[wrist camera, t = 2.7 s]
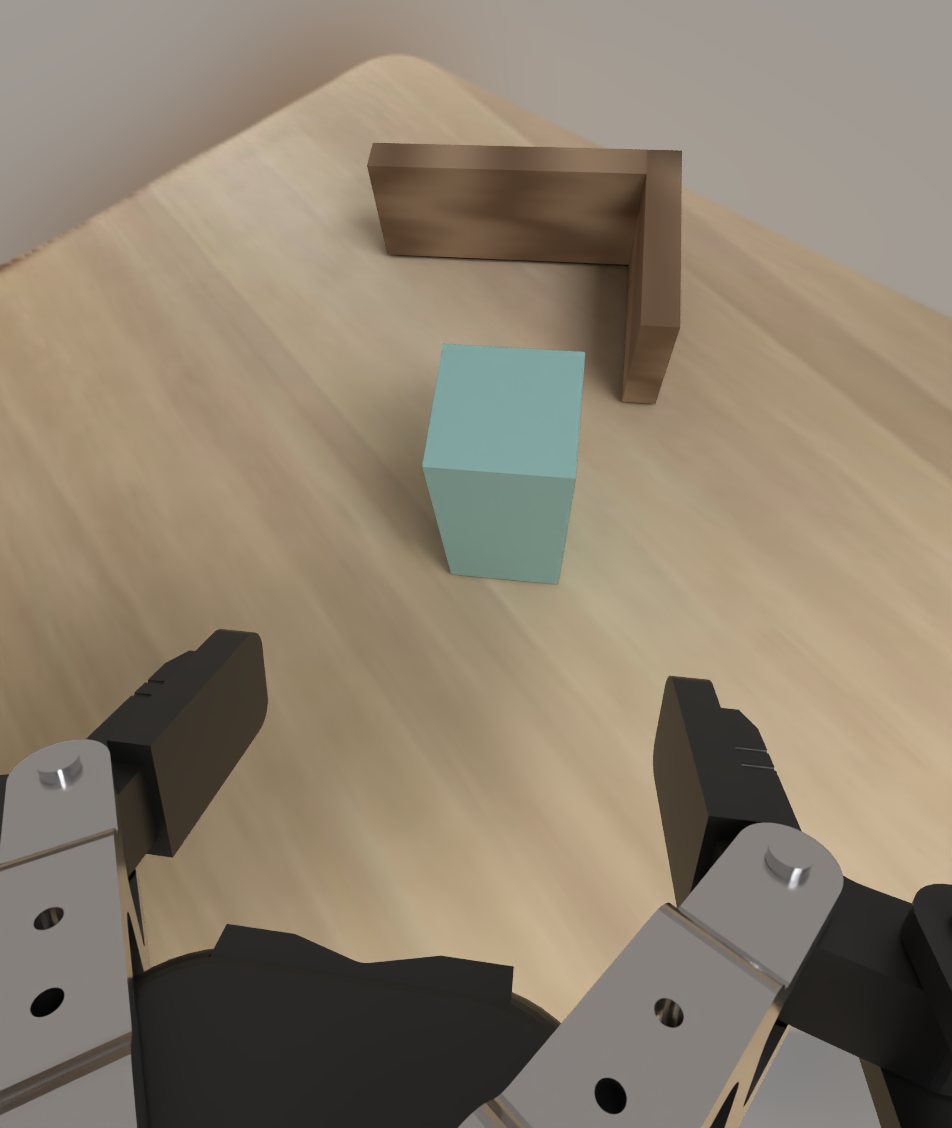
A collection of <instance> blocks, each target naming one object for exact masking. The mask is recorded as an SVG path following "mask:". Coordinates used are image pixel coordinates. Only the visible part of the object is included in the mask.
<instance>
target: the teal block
mask: <svg viewBox="0 0 952 1128" xmlns="http://www.w3.org/2000/svg"><path fill="white" fill-rule="evenodd" d="M584 362H585V352H578V351H560V350H543V349H526V348H508V347H491V346H474V345H456V344H443V348H442V353H441V359H440V365H439V371H438V377H437V383H436V388H435V394H434V400H433V406H432V412H431V418H430V423H429V429H428V435H427V441H426V447H425V453H424V458H423V464H422V469H423V472H424V476H425V480H426V483H427V487H428V491H429V494H430V498H431V502H432V505H433V509H434V513H435V517H436V520H437V524H438V528H439V531H440V535H441V539H442V542H443V546H444V550H445V553H446V557H447V561H448V565H449V568H450V572H451V574H453V575H464V576H474V577H485V578H496V579H507V580H517V581H528V582H539V583H550V584H558V582H559V576H560V570H561V564H562V558H563V552H564V546H565V540H566V534H567V528H568V522H569V516H570V510H571V504H572V498H573V492H574V486H575V480H576V468H577V455H578V442H579V428H580V415H581V402H582V388H583V375H584Z"/></svg>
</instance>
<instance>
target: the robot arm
mask: <svg viewBox="0 0 952 1128" xmlns="http://www.w3.org/2000/svg"><path fill="white" fill-rule="evenodd" d="M267 704H268V696H267V687H266V677H265V668H264V658H263V649H262V642H261V638H260V636H259V635H258V634H257V633H254V632H244V631H234V630H224V629H219V630H217V631H215V632H214V633H213V634H212V635H211V636H210V637H209V638H208V639H207V640H206V641H205V642H204V643H203V644H202V645H201V646H200V647H199V648H198V649H197V650H196V651H188V652H186V653H184V654H182V655H180V656H178V657H176V658H175V659H173V660H171V661H169V662H167V663H165V664H164V665H163V666H162V667H161V668H160V669H159V670H158V671H157V672H156V673H155V674H154V675H152V676H151V677H150V678H149V679H148V683H144V684H143V685H142V686H141V687H140V688H139V689H138V690H137V691H136V692H135V694H134V696H131V697H129V698H128V699H127V700H126V701H125V702H124V703H123V704H122V705H121V706H120V707H119V708H118V709H117V710H116V711H115V712H114V713H113V714H112V715H111V716H110V717H109V718H107V719H106V720H105V721H104V722H103V723H102V724H101V725H100V726H99V727H98V728H97V729H96V730H95V731H94V732H93V733H92V734H91V735H90V736H89V737H88V738H87V739H76V740H68V741H63V742H59V743H56V744H52V745H50V746H47V747H44V748H42V749H40V750H38V751H36V752H34V753H32V754H31V755H29V756H27V757H26V758H25V759H23V760H22V761H21V762H19V763H18V764H17V765H16V766H15V767H14V769H13V770H12V771H11V772H10V774H8V775H0V1128H738V1127H739V1125H740V1123H741V1121H742V1119H743V1117H744V1115H745V1113H746V1111H747V1109H748V1107H749V1105H750V1103H751V1101H752V1099H753V1098H754V1096H755V1094H756V1092H757V1090H758V1088H759V1086H760V1084H761V1082H762V1080H763V1078H764V1076H765V1074H766V1073H767V1071H768V1069H769V1067H770V1065H771V1063H772V1061H773V1059H774V1057H775V1056H776V1053H777V1052H778V1050H779V1048H780V1046H781V1044H782V1042H783V1040H784V1038H785V1036H786V1034H787V1033H788V1031H789V1029H790V1027H791V1026H793V1027H795V1028H797V1029H799V1030H801V1031H804V1032H806V1033H808V1034H810V1035H812V1036H814V1037H816V1038H819V1039H821V1040H823V1041H825V1042H827V1043H829V1044H831V1045H834V1046H836V1047H838V1048H840V1049H842V1050H844V1051H847V1052H849V1053H851V1054H853V1055H855V1056H857V1057H859V1059H860V1062H861V1065H862V1068H863V1072H864V1075H865V1078H866V1081H867V1084H868V1087H869V1090H870V1093H871V1097H872V1100H873V1103H874V1106H875V1109H876V1112H877V1115H878V1118H879V1122H880V1125H881V1128H952V885H948V884H932V885H928V886H925V887H923V888H921V889H920V890H919V891H918V892H917V893H916V895H915V897H914V900H913V902H912V904H911V903H909V902H906V901H903V900H901V899H898V898H895V897H892V896H890V895H887V894H884V893H882V892H879V891H876V890H873V889H871V888H868V887H866V886H863V885H861V884H858V883H856V882H854V881H852V880H850V879H848V878H846V877H845V876H843V874H842V871H841V868H840V866H839V864H838V863H837V861H836V859H835V858H834V857H833V855H832V854H831V853H830V852H829V851H828V850H827V849H826V848H825V847H824V846H823V845H822V844H820V843H819V842H818V841H816V840H815V839H814V838H812V837H810V836H809V835H807V834H805V833H803V832H802V831H801V829H800V826H799V824H798V822H797V819H796V817H795V815H794V812H793V810H792V808H791V805H790V803H789V801H788V798H787V796H786V794H785V791H784V789H783V786H782V784H781V782H780V779H779V777H778V775H777V772H776V771H774V765H773V763H772V761H771V758H770V756H769V754H768V753H767V749H766V746H765V744H764V742H763V739H762V737H761V735H760V732H759V730H758V728H757V727H756V726H755V725H754V724H753V723H752V722H751V721H750V720H749V719H747V718H746V717H745V716H744V715H743V714H742V713H741V712H740V711H739V710H735V709H726V708H721V707H720V704H719V701H718V698H717V696H716V693H715V690H714V687H713V684H712V682H711V681H710V680H706V679H696V678H686V677H676V676H669V677H668V678H667V681H666V684H665V689H664V695H663V700H662V705H661V711H660V716H659V721H658V727H657V732H656V738H655V744H654V754H653V771H654V779H655V785H656V790H657V796H658V802H659V807H660V813H661V819H662V825H663V830H664V836H665V842H666V847H667V853H668V859H669V864H670V870H671V876H672V882H673V887H674V893H675V899H676V904H677V908H676V907H674V906H673V905H672V904H670V903H666V904H664V905H662V906H661V907H660V908H659V909H658V910H657V911H656V912H655V913H654V914H653V915H652V917H651V918H650V919H649V920H648V921H647V922H646V924H645V925H644V926H643V927H642V928H641V930H640V931H639V932H638V933H637V934H636V936H635V937H634V938H633V939H632V940H631V941H630V943H629V944H628V945H627V946H626V947H625V949H624V950H623V951H622V952H621V953H620V955H619V956H618V957H617V958H616V959H615V960H614V962H613V963H612V964H611V965H610V966H609V968H608V969H607V970H606V971H605V972H604V973H603V975H602V976H601V977H600V978H599V979H598V981H597V982H596V983H595V984H594V985H593V987H592V988H591V989H590V990H589V991H588V992H587V994H586V995H585V996H584V997H583V998H582V1000H581V1001H580V1002H579V1003H578V1004H577V1005H576V1007H575V1008H574V1009H573V1010H572V1011H571V1013H570V1014H569V1015H568V1016H567V1017H566V1019H565V1020H564V1021H563V1022H562V1023H560V1022H559V1021H558V1020H557V1019H555V1018H554V1017H553V1016H551V1015H550V1014H549V1013H548V1012H546V1011H545V1010H544V1009H542V1008H541V1007H539V1006H538V1005H536V1004H534V1003H533V1002H531V1001H529V1000H528V999H526V998H524V997H521V996H519V995H517V994H515V993H513V992H512V981H513V968H514V967H513V966H506V965H499V964H493V963H486V962H479V961H472V960H466V959H459V958H452V957H445V956H434V957H424V958H414V959H405V960H395V961H385V962H375V963H360V962H357V961H354V960H352V959H349V958H347V957H345V956H343V955H340V954H338V953H336V952H334V951H332V950H329V949H327V948H325V947H323V946H320V945H318V944H316V943H314V942H311V941H309V940H307V939H305V938H303V937H300V936H298V935H296V934H291V933H284V932H277V931H271V930H264V929H257V928H250V927H244V926H237V925H230V924H227V925H226V927H225V929H224V931H223V932H222V934H221V936H220V938H219V940H218V942H217V944H216V946H215V948H214V949H207V950H202V951H198V952H193V953H189V954H186V955H183V956H180V957H176V958H173V959H170V960H168V961H166V962H163V963H161V964H159V965H156V966H154V967H152V968H151V967H150V960H149V952H148V944H147V937H146V929H145V921H144V913H143V905H142V898H141V890H140V882H139V876H138V872H137V868H136V867H137V865H138V864H139V863H140V861H141V860H142V858H143V857H144V856H145V854H152V855H159V856H166V857H173V856H174V855H175V854H176V852H177V851H178V849H179V848H180V846H181V845H182V843H183V842H184V840H185V839H186V837H187V836H188V834H189V833H190V832H191V830H192V829H193V827H194V826H195V824H196V823H197V821H198V820H199V818H200V817H201V815H202V814H203V812H204V811H205V810H206V808H207V807H208V805H209V804H210V802H211V801H212V799H213V798H214V796H215V795H216V793H217V792H218V790H219V789H220V788H221V786H222V785H223V783H224V782H225V780H226V779H227V777H228V776H229V774H230V773H231V771H232V770H233V768H234V767H235V766H236V764H237V763H238V761H239V760H240V758H241V757H242V755H243V754H244V752H245V751H246V749H247V748H248V746H249V745H250V744H251V742H252V741H253V739H254V738H255V736H256V735H257V733H258V732H259V730H260V729H261V727H262V725H263V722H264V719H265V716H266V712H267Z"/></svg>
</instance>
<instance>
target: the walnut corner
mask: <svg viewBox="0 0 952 1128" xmlns="http://www.w3.org/2000/svg"><path fill="white" fill-rule="evenodd" d="M367 167H368V171H369V176H370V180H371V184H372V189H373V193H374V197H375V202H376V206H377V210H378V215H379V219H380V223H381V228H382V232H383V236H384V241H385V245H386V249H387V254H391V255H414V256H438V257H461V258H484V259H508V260H531V261H555V262H578V263H602V264H625V265H629V268H628V289H627V309H626V330H625V351H624V372H623V393H622V402H635V403H651V404H655V403H656V400H657V397H658V394H659V390H660V387H661V384H662V381H663V378H664V375H665V372H666V369H667V366H668V363H669V360H670V357H671V353H672V350H673V347H674V344H675V341H676V338H677V335H678V332H679V329H680V278H681V183H682V176H681V173H682V151H673V150H671V151H670V150H632V149H593V148H554V147H514V146H474V145H434V144H395V143H373V145H372V149H371V153H370V157H369V161H368V165H367Z"/></svg>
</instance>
